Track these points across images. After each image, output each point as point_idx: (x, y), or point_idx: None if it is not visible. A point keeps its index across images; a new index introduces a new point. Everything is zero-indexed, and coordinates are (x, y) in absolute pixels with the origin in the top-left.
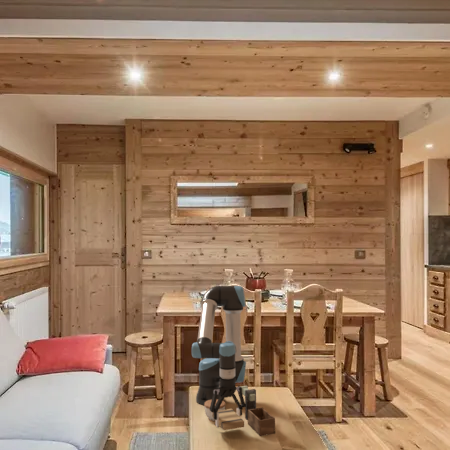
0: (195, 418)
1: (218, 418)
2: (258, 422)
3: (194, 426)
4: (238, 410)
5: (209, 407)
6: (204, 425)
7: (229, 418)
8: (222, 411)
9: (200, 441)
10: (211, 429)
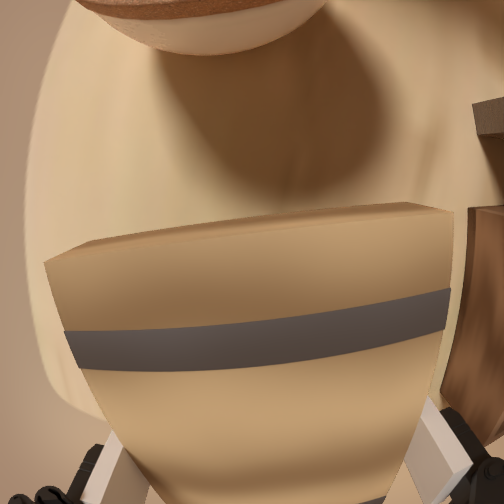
0: (74, 11)
1: (145, 488)
2: (480, 426)
3: (31, 145)
4: (425, 501)
5: (81, 3)
6: (94, 132)
7: (275, 499)
8: (232, 309)
9: (72, 377)
10: (137, 226)
